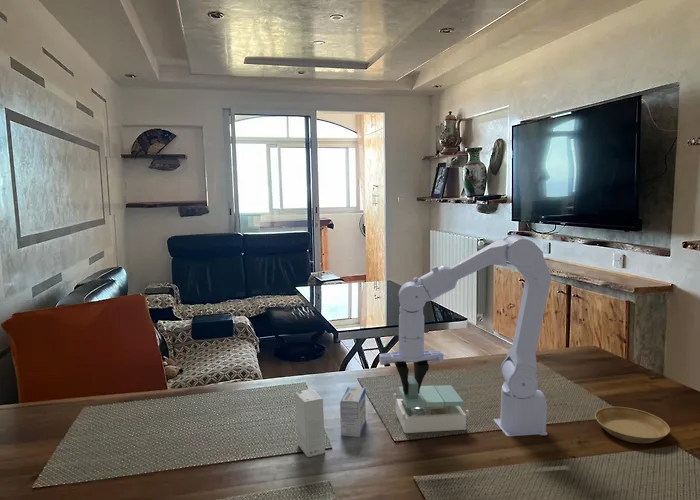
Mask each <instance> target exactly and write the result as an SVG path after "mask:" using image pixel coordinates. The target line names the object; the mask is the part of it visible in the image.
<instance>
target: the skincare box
mask: <svg viewBox="0 0 700 500" xmlns="http://www.w3.org/2000/svg"><path fill="white" fill-rule="evenodd" d="M294 396H295V397H294V398H295V399H294V400H295V402H294V403H295V417H296V431H297V433H296V434H297V435H296V436H297V445H298V446H299V448H300V449H301V451H302V452H303V453H304V454H305V456H306V457H307V458H310V457H315V456H320V455H323V454H325V453H326V441H325V440H326V438H325V422H324V421H325V417H324V399H323V397H322V396H320V394H318V392H316V391H315V390H314V389H313V388H308V389H304V390H299V391H295V392H294Z"/></svg>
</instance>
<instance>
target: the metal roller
mask: <svg viewBox="0 0 700 500" xmlns="http://www.w3.org/2000/svg"><path fill="white" fill-rule="evenodd" d="M421 415H429V412H428V407H410V416H421Z"/></svg>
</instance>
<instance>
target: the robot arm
mask: <svg viewBox="0 0 700 500" xmlns="http://www.w3.org/2000/svg"><path fill="white" fill-rule="evenodd" d="M507 261H508V263H510V264H511V265H512V266H513V267H515V268H516V269H517V271H518V272H519V273H520V274H521V276H522V277H523V278H524V280H525V281H524V285H523V290H522V295H521V299H520V305H519V310H518V315H517V321H516V325H515V331H514V336H513V340H512V344H511V345H512V346H511V347H510V348H509V350H508V351H507V355H506V358H505V359H504V360H503V361H502V363H501V365H500V373H501V376H502V377H503V378H504V382H503V384H502V386H501V393H500V418H493V421H494V423H496V425H498V427H499V428H500V430H502V432H503V434H505V436H507V437H514V436H515V437H516V436H531V435H532V436H533V435H535V436H536V435H540V436H547V435H548V431H547V415H548V414H547V412H548V408H547V407H548V405H547V398H546V396H545V395H544V394H545V393H544V392H543V391H542V390H540V389H538V387H539V380H538V378H537V371H538V365H537V363H538V362H537V357H536V356H537V355H536V353H537V348H538V343H539V339H540V335H541V334H540V333H541V330H542V325H543V320H544V315H545V310H546V304H547V301H548V295H549V290H550V285H551V282H552V281H551V280H552V275H551V272H550V268H549V267H548V264H547V262H546V260H545V257H544V251H543V250H542V249H541V248H540V247H539V246H538V245H537V244H536V243H535V242H533V241H532V240H531V239H528V238H525V237H524V236H522V235H521V234H513V233H512V234H509V235H507V236H505V237H504V238H503V239H502V238H500V239H498V240H495V241H493V242H492V243H490V244H489V245H486V246H484V247H483V248H481V249H479V250H477V251H476V252H474V253H473V254H471V255H469V256H467V257H466V258H464V259H463V260H461V261H459V262H457V263H456V264H454V265H452V266H446V265H440V266H438V265H435V266H433V267H431V271H429V272H427V273H425V274H423V275H421V276H420V277H418V276H415V277H413V279H412V281H407V282H405V283H403V284H402V285H401V287H400V288H399V290H398V302H399V305H400V306H399V310H398V312H399V315H398V351H392V352H385V353H379V355H378V356H379V357H378V360H379V361H378V362H379V364H380V366H385V365H387V364H388V365H389V364H394V365H395V368H396V370H397V372H398V375H399V378H400V380H401V385H402V386H403V392H404V394H408V376H409V372H410V369H409V366H408V364H407V363H413V368H414V369H413V370H414V371H413V373H414V375H413V376H414V378H415V379H416V381H417V383H418V394H419V391H420V387H421V386H422V383H423V381H424V378H425V376H426V374H427V373H428V371H429V368H430V364H429V363H428V362H439V363H443V362H444V353H443V352H442V351H441V350H425V315H424V307H425V305H426V302H431V301H433V300H435V299H437V298H439V297H441V296H442V295H444V294H446V293H448V292H450V291H452V290H453V289H455V288H456V286H457V282H458V281H459V280H462V279H463V278H465V277H467V276H469V275H471V274H474V273H475V272H478V271H480V270H482V269H484V268H486V267H488V266H491V265H492V266H493V265H494V266H503V267H507V265H508V263H507ZM402 386H401V387H402Z"/></svg>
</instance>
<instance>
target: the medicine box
mask: <svg viewBox="0 0 700 500" xmlns="http://www.w3.org/2000/svg"><path fill="white" fill-rule="evenodd" d="M366 400H367V399H366V388H364V387H355V386H350V387H349V386H348V387H347V388H346V390H345V392H344V394H343V395H342V398H341V400H340V401H339V415H340V416H339V417H340V418H339V419H340V436H346V437H355V438H356V437H358V438H359V437H361V435H362V432H363V430H364V427H365V424H366V421H367V420H366V419H367V416H366V415H367V414H366V413H367V412H366V409H367V408H366V406H367V405H366V404H367V403H366Z"/></svg>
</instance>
